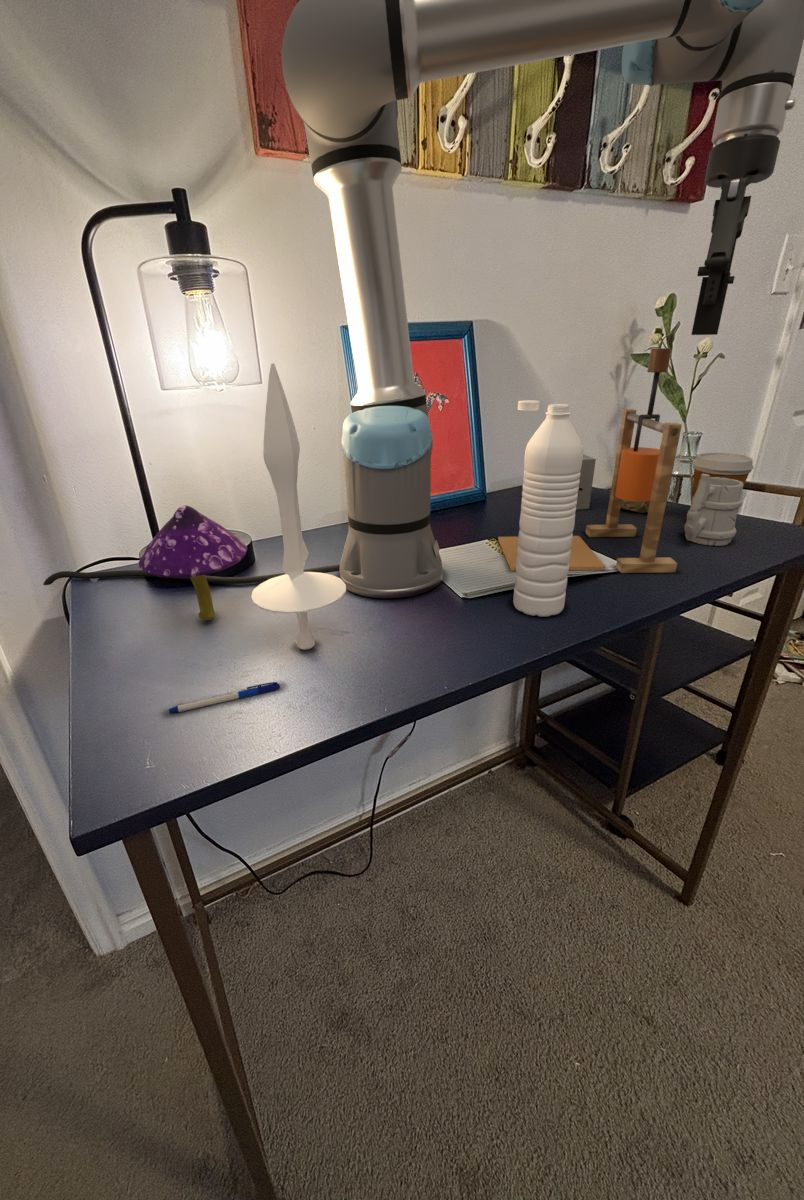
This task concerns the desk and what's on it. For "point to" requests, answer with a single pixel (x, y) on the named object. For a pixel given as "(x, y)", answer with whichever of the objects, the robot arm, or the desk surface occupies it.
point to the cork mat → (578, 560)
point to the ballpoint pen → (227, 697)
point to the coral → (635, 506)
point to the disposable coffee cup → (721, 467)
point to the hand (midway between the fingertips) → (705, 335)
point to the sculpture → (290, 524)
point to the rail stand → (657, 501)
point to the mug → (714, 511)
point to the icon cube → (585, 482)
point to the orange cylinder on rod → (639, 460)
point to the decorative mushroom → (192, 552)
